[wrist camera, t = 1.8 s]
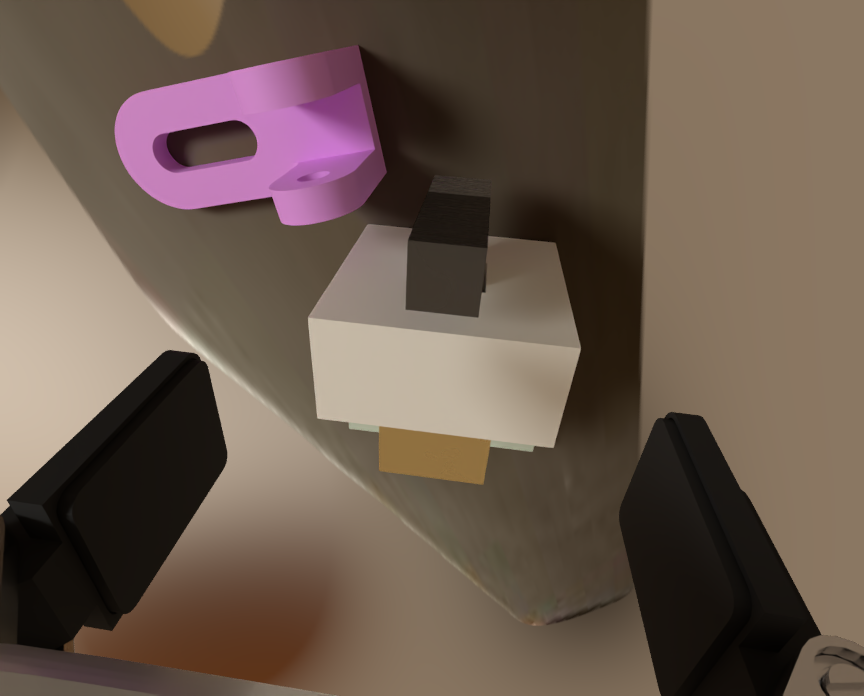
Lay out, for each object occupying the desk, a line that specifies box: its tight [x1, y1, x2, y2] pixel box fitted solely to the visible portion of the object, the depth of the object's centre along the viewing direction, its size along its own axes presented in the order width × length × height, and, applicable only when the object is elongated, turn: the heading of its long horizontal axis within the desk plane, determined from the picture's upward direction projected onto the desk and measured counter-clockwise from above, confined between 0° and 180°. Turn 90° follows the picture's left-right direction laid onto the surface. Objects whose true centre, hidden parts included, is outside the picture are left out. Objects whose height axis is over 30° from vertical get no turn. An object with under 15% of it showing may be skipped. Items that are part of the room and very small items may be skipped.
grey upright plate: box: [405, 175, 491, 318], centre depth 21 cm, size 13×2×7 cm, turn 177°
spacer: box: [379, 426, 491, 485], centre depth 24 cm, size 3×5×4 cm
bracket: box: [115, 45, 387, 225], centre depth 22 cm, size 13×6×7 cm, turn 101°
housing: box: [308, 224, 581, 448], centre depth 23 cm, size 5×10×10 cm, turn 87°
